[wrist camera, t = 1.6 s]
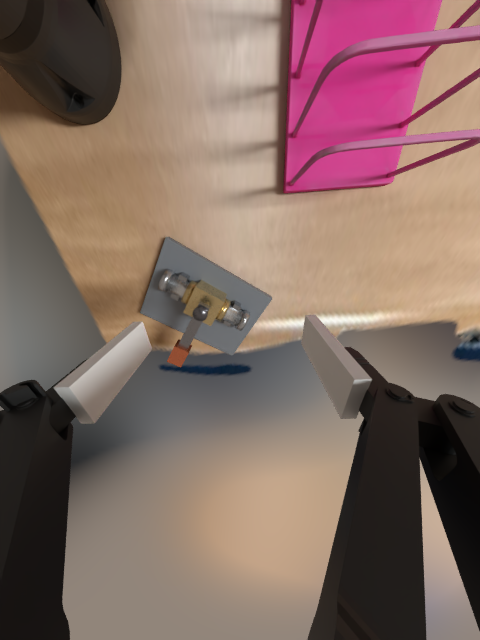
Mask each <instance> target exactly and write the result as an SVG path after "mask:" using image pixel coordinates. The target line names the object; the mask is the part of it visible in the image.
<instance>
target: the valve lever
mask: <svg viewBox="0 0 480 640" xmlns="http://www.w3.org/2000/svg"><path fill="white" fill-rule="evenodd" d="M209 309H210V306H209V305H207V304H205V303H203V302H201V301H200V303H199V305H198V306H197V307H196V308H195V309H194V310H193V313H192V315H193V317H192V318H191V320H190V322H189V324H188V326H187V328H186V330H185V332H184V334H183V336H182V338H181V340H178V341H177V343H176V345H175V346H174V348H173V350H172V352H171V354H170V356H169V359H168V361H167V362H169V363H172V364H174V365H176V366H179V367H181V366H182V364H183V362H184V361H185V359H186V357H187V355H188V353H189V351H190V349H191V347H192V345H190V344H191V342H192V340H193V338H194V337H195V335H196V333H197V331H198V329H199V327H200V325H201V324H202V322H203V321H204V320H205V319H206V318H207V316H208V311H209Z"/></svg>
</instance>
